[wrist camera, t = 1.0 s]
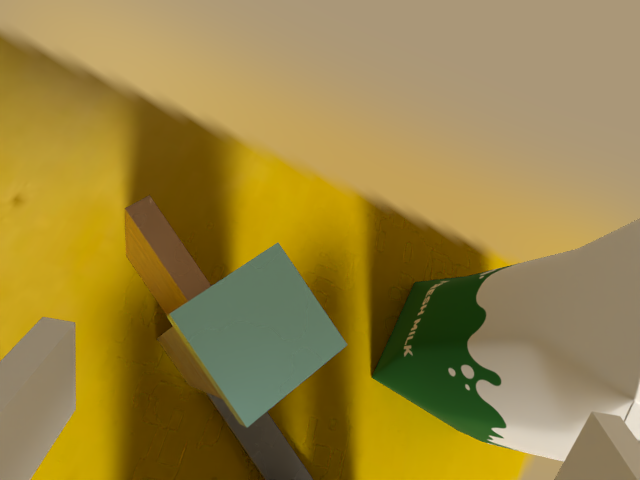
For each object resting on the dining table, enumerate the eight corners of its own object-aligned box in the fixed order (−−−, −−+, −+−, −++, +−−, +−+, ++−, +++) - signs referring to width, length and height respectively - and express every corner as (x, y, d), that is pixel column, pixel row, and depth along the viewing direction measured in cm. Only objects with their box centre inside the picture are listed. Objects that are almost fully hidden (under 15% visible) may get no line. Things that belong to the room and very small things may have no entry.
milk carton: (465, 452, 32) (919, 576, 14) (350, 382, 30) (690, 417, 12) (509, 330, 35) (922, 299, 17) (407, 261, 33) (743, 143, 15)
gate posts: (103, 272, 27) (77, 179, 13) (163, 237, 28) (196, 121, 14) (327, 599, 27) (532, 846, 13) (374, 548, 28) (602, 722, 15)
